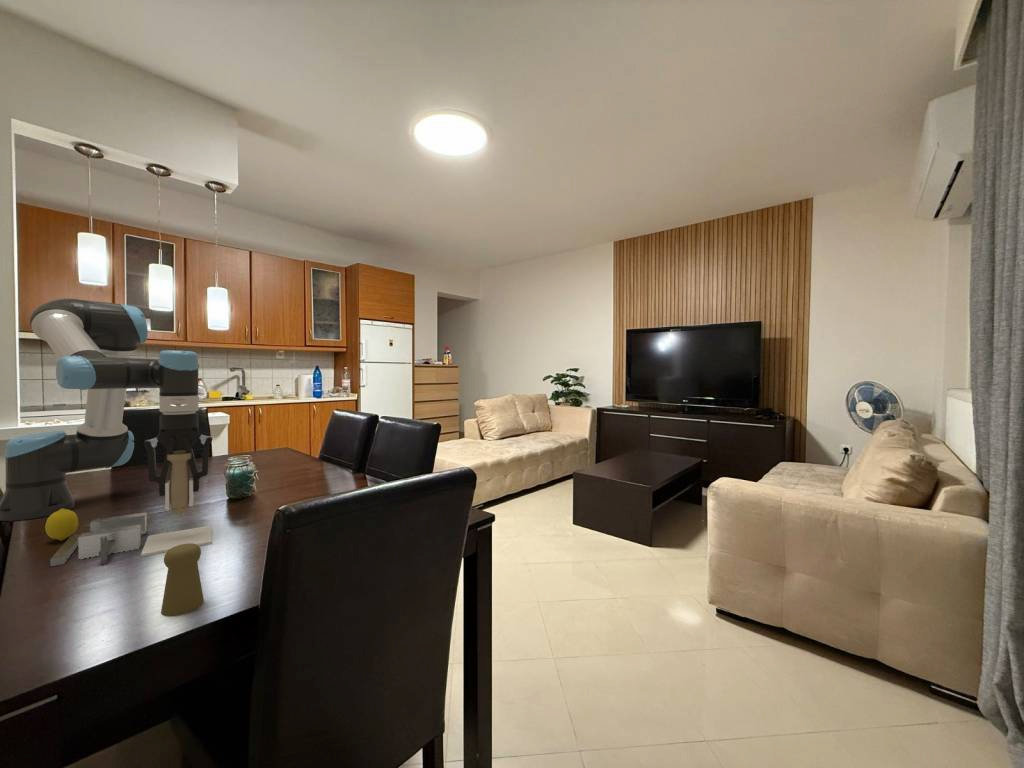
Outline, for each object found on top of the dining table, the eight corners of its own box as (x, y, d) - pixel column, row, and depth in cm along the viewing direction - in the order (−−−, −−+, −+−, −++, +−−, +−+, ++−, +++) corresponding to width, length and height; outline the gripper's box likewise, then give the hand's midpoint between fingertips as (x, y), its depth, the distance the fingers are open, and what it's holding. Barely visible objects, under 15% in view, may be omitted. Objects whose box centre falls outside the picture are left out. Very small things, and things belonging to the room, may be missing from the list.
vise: (71, 545, 101) (71, 517, 101) (147, 533, 109) (147, 507, 109) (42, 581, 84) (41, 547, 84) (134, 563, 92) (134, 532, 92)
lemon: (82, 538, 103) (82, 507, 103) (50, 546, 98) (50, 513, 98) (72, 534, 105) (72, 503, 105) (41, 542, 100) (40, 510, 100)
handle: (166, 518, 98) (165, 456, 98) (168, 511, 103) (167, 451, 103) (191, 514, 101) (191, 453, 101) (192, 507, 106) (192, 449, 106)
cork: (177, 598, 77) (177, 539, 76) (211, 597, 77) (211, 539, 77) (151, 617, 70) (151, 553, 70) (189, 615, 71) (188, 553, 71)
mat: (148, 538, 104) (148, 535, 104) (212, 527, 111) (212, 525, 111) (140, 556, 93) (140, 554, 93) (211, 543, 101) (211, 541, 101)
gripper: (130, 415, 94) (131, 517, 94) (221, 412, 104) (221, 504, 104) (135, 413, 100) (136, 508, 100) (221, 410, 110) (221, 497, 110)
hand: (179, 506), depth 102 cm, fingers closed on handle, 4 cm apart
